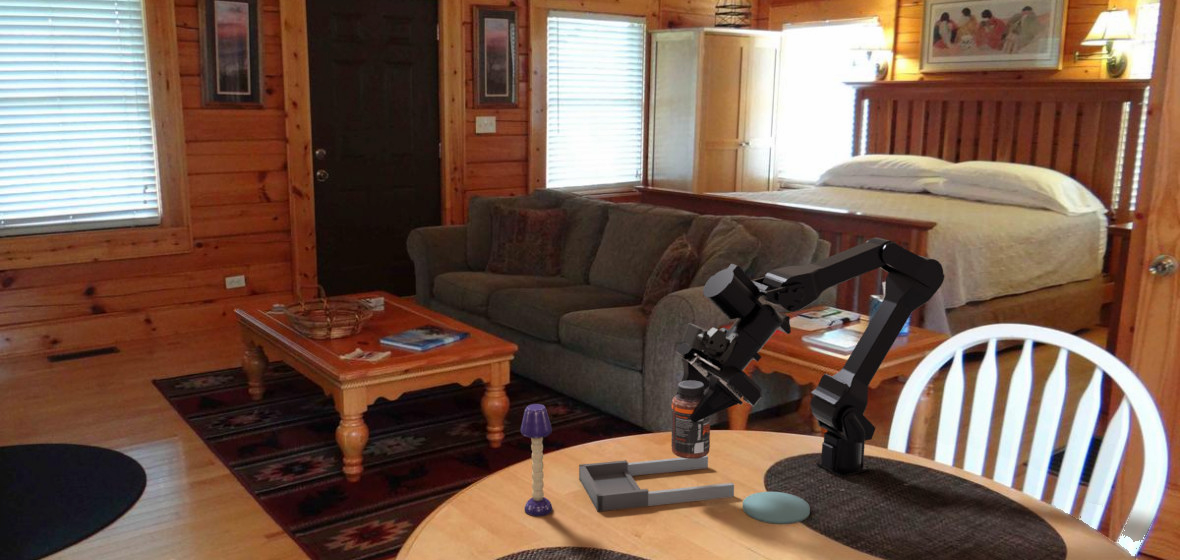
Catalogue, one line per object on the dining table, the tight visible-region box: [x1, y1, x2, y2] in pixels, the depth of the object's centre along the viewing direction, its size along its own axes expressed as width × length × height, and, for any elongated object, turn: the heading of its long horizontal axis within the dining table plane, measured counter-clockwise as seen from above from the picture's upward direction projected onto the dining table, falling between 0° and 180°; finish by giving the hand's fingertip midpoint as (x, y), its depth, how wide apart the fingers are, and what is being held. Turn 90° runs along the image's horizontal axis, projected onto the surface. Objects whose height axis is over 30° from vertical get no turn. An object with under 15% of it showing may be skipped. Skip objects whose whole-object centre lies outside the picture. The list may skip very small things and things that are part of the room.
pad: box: [742, 491, 811, 525], centre depth 145 cm, size 10×10×1 cm
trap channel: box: [578, 454, 735, 513], centre depth 152 cm, size 22×12×2 cm, turn 103°
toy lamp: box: [520, 403, 553, 517], centre depth 143 cm, size 5×5×17 cm
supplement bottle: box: [671, 380, 711, 459], centre depth 148 cm, size 6×6×11 cm
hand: (682, 414), depth 147 cm, fingers closed on supplement bottle, 6 cm apart
